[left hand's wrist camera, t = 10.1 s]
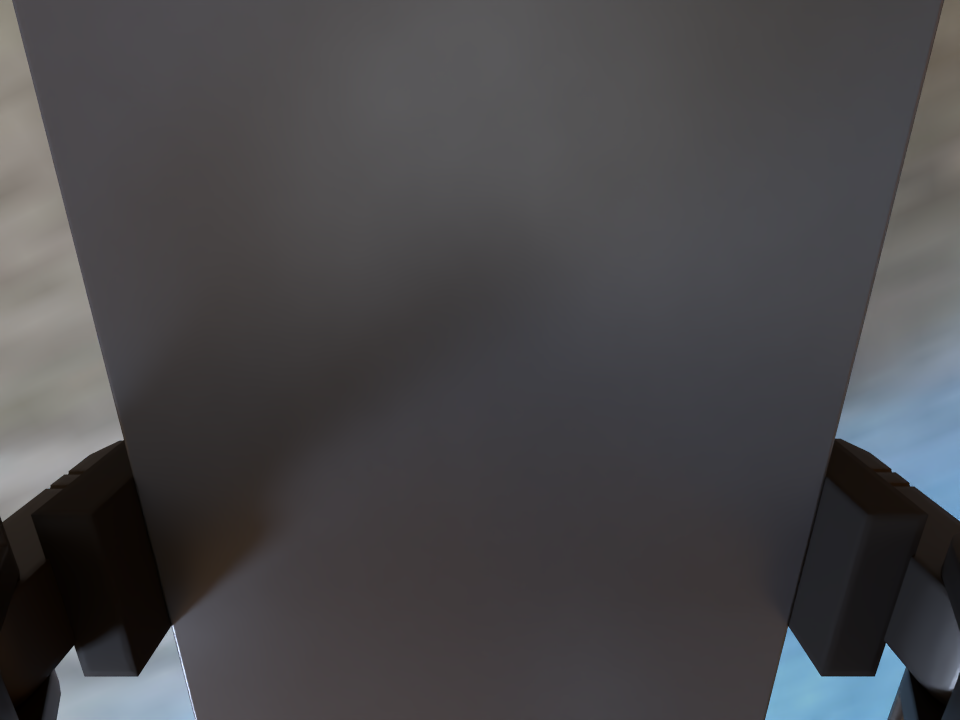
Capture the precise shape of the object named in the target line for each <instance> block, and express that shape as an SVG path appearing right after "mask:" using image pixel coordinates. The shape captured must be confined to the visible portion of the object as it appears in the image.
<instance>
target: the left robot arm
mask: <svg viewBox="0 0 960 720" xmlns="http://www.w3.org/2000/svg"><path fill="white" fill-rule="evenodd" d="M788 626H789V628H790V629H791V631H792V632H793V634H794V635H795V637H796V638H797V640H798V641H799V643H800V644H801V646H802V647H803V649H804V651H805V652H806V654H807V655H808V657H809V658H810V660H811V661H812V663H813V664H814V666H815V667H816V669H817V670H818V672H819V673H820V675H821V676H875V674H876V671H877V668H878V665H879V662H880V659H881V656H882V653H883V650H884V647H885V644H886V643H887V644H888V646H889V647H890V648H891V649H892V650H893V652H894V653H895V654H896V655H897V656H898V658H899V659H900V660H901V661H902V662H903V664H904V665H905V666H906V669H905V672H904V675H903V677H902V680H901V683H900V686H899V689H898V691H897V694H896V697H895V700H894V703H893V705H892V708H891V711H890V714H889V717H888V719H887V720H960V521H959V520H957V519H956V518H955V517H953V516H952V515H951V514H949V513H948V512H947V511H946V510H944V509H943V508H942V507H940V506H939V505H938V504H936V503H935V502H934V501H932V500H931V499H930V498H929V497H927V496H926V495H925V494H923V493H922V492H921V491H919V490H918V489H917V488H915V487H910V485H909V482H908V481H906V480H905V479H904V478H902V477H901V476H900V475H898V474H897V473H896V472H892V471H891V468H889V467H888V466H887V465H885V464H884V463H883V462H881V461H880V460H879V459H877V458H876V457H875V456H873V455H872V454H871V453H869V452H867V451H865V450H863V449H861V448H859V447H857V446H855V445H853V444H850V443H848V442H846V441H844V440H842V439H835V440H834V444H833V448H832V452H831V456H830V460H829V464H828V468H827V472H826V476H825V480H824V484H823V488H822V492H821V496H820V500H819V504H818V508H817V512H816V516H815V520H814V524H813V528H812V532H811V536H810V540H809V544H808V548H807V552H806V556H805V560H804V564H803V568H802V572H801V576H800V580H799V585H798V589H797V593H796V597H795V601H794V605H793V609H792V613H791V617H790V621H789V625H788ZM170 627H171V622H170V618H169V614H168V610H167V607H166V603H165V599H164V595H163V591H162V587H161V583H160V579H159V575H158V571H157V567H156V563H155V559H154V555H153V551H152V548H151V544H150V540H149V536H148V532H147V528H146V524H145V520H144V516H143V512H142V508H141V504H140V500H139V496H138V493H137V489H136V485H135V481H134V477H133V473H132V469H131V465H130V461H129V457H128V453H127V449H126V445H125V441H124V440H123V441H118V442H116V443H114V444H112V445H110V446H107V447H105V448H103V449H101V450H99V451H97V452H95V453H93V454H91V455H89V456H88V457H87V458H85V459H84V460H83V461H81V462H80V463H79V464H78V465H76V466H75V467H74V468H72V469H71V470H70V471H69V474H68V475H63V476H62V477H61V478H59V479H58V480H57V481H55V482H54V483H53V484H52V485H51V488H50V489H45V490H44V491H42V492H41V493H40V494H39V495H37V496H36V497H35V498H33V499H32V500H31V501H29V502H28V503H27V504H26V505H24V506H23V507H22V508H20V509H19V510H18V511H16V512H15V513H14V514H13V515H11V516H10V517H9V518H7V519H6V520H5V521H3V522H2V520H1V518H0V720H56V719H57V713H58V707H59V702H60V696H61V691H60V685H59V680H58V677H57V675H56V672H55V668H56V666H57V665H58V664H59V663H60V662H61V660H62V659H63V658H64V657H65V655H66V654H67V653H68V652H69V651H70V649H71V648H72V647H73V646H75V649H76V652H77V655H78V658H79V661H80V664H81V667H82V670H83V673H84V676H139V674H140V673H141V671H142V670H143V668H144V667H145V665H146V664H147V662H148V660H149V659H150V657H151V656H152V654H153V653H154V651H155V650H156V648H157V647H158V645H159V644H160V642H161V641H162V639H163V638H164V636H165V634H166V633H167V631H168V630H169V628H170Z"/></svg>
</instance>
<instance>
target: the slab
mask: <svg viewBox="0 0 960 720" xmlns="http://www.w3.org/2000/svg"><path fill="white" fill-rule="evenodd" d="M12 1H13V5H14V9H15V13H16V17H17V21H18V25H19V29H20V33H21V37H22V40H23V44H24V48H25V52H26V56H27V60H28V64H29V68H30V72H31V76H32V80H33V84H34V88H35V92H36V95H37V99H38V103H39V107H40V111H41V115H42V119H43V123H44V127H45V131H46V135H47V139H48V143H49V147H50V151H51V154H52V158H53V162H54V166H55V170H56V174H57V178H58V182H59V186H60V190H61V194H62V198H63V202H64V206H65V209H66V213H67V217H68V221H69V225H70V229H71V233H72V237H73V241H74V245H75V249H76V253H77V257H78V261H79V265H80V268H81V272H82V276H83V280H84V284H85V288H86V292H87V296H88V300H89V304H90V308H91V312H92V316H93V320H94V323H95V327H96V331H97V335H98V339H99V343H100V347H101V351H102V355H103V359H104V363H105V367H106V371H107V375H108V379H109V382H110V386H111V390H112V394H113V398H114V402H115V406H116V410H117V414H118V418H119V422H120V426H121V430H122V434H123V437H124V441H125V445H126V449H127V453H128V457H129V461H130V465H131V469H132V473H133V477H134V481H135V485H136V489H137V493H138V496H139V500H140V504H141V508H142V512H143V516H144V520H145V524H146V528H147V532H148V536H149V540H150V544H151V548H152V551H153V555H154V559H155V563H156V567H157V571H158V575H159V579H160V583H161V587H162V591H163V595H164V599H165V603H166V607H167V610H168V614H169V618H170V622H171V626H172V630H173V634H174V638H175V642H176V646H177V650H178V654H179V658H180V662H181V666H182V669H183V673H184V677H185V681H186V685H187V689H188V693H189V697H190V701H191V705H192V709H193V713H194V717H195V720H765V717H766V713H767V709H768V705H769V701H770V697H771V693H772V689H773V685H774V681H775V677H776V673H777V669H778V665H779V661H780V657H781V653H782V649H783V645H784V641H785V637H786V633H787V629H788V625H789V621H790V617H791V613H792V609H793V605H794V601H795V597H796V593H797V589H798V585H799V580H800V576H801V572H802V568H803V564H804V560H805V556H806V552H807V548H808V544H809V540H810V536H811V532H812V528H813V524H814V520H815V516H816V512H817V508H818V504H819V500H820V496H821V492H822V488H823V484H824V480H825V476H826V472H827V468H828V464H829V460H830V456H831V452H832V448H833V444H834V440H835V436H836V432H837V428H838V424H839V420H840V416H841V412H842V408H843V404H844V400H845V396H846V392H847V388H848V384H849V380H850V376H851V372H852V368H853V364H854V360H855V356H856V352H857V348H858V344H859V340H860V336H861V332H862V328H863V324H864V320H865V316H866V312H867V308H868V304H869V300H870V296H871V292H872V288H873V283H874V279H875V275H876V271H877V267H878V263H879V259H880V255H881V251H882V247H883V243H884V239H885V235H886V231H887V227H888V223H889V219H890V215H891V211H892V207H893V203H894V199H895V195H896V191H897V187H898V183H899V179H900V175H901V171H902V167H903V163H904V159H905V155H906V151H907V147H908V143H909V139H910V135H911V131H912V127H913V123H914V119H915V115H916V111H917V107H918V103H919V99H920V95H921V91H922V87H923V83H924V79H925V75H926V71H927V67H928V63H929V59H930V55H931V51H932V47H933V43H934V39H935V35H936V31H937V27H938V23H939V19H940V15H941V11H942V7H943V3H944V0H12Z"/></svg>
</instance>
